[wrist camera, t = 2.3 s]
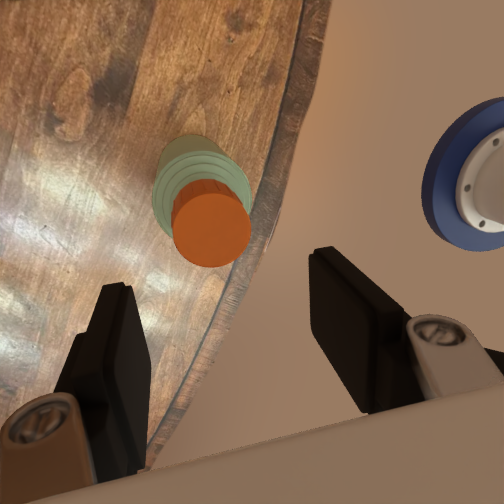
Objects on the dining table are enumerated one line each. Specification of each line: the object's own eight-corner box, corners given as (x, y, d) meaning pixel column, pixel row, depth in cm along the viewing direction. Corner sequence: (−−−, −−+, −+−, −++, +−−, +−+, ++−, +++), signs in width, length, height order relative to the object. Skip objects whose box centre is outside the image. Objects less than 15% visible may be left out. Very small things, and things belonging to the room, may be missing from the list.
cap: (236, 173, 21) (248, 186, 17) (243, 238, 22) (255, 262, 19) (166, 182, 20) (164, 198, 17) (178, 248, 22) (179, 274, 18)
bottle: (222, 130, 33) (268, 156, 18) (230, 198, 36) (276, 274, 20) (152, 138, 33) (133, 173, 17) (165, 207, 35) (159, 294, 19)
